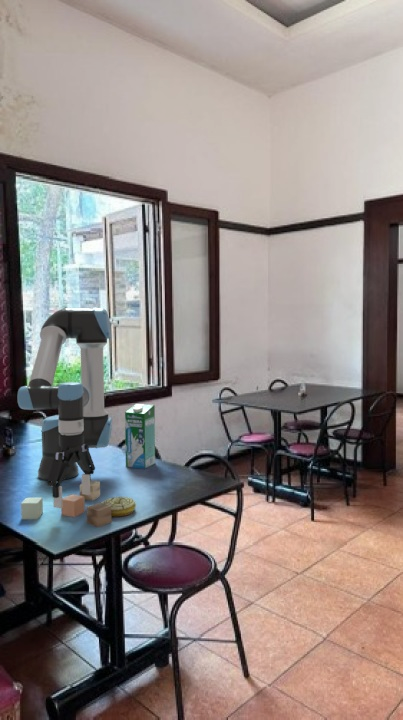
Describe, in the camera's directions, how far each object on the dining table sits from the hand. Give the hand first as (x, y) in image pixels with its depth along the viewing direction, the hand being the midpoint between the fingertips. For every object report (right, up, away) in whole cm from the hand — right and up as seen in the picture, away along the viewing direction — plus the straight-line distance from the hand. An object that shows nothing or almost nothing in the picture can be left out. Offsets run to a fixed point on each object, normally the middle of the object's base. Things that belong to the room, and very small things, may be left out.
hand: (72, 500), depth 159 cm
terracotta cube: (0, -4, +1) cm, 4 cm away
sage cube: (-12, -4, -1) cm, 13 cm away
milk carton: (+15, 0, +54) cm, 56 cm away
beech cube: (+2, -3, +15) cm, 15 cm away
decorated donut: (+14, -4, +2) cm, 15 cm away
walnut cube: (+10, -5, -7) cm, 13 cm away
